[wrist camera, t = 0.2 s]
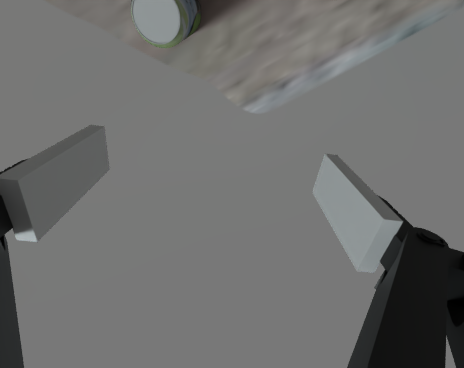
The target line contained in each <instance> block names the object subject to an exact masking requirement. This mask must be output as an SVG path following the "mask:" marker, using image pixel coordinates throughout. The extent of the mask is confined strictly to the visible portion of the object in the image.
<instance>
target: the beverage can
mask: <svg viewBox="0 0 464 368" xmlns="http://www.w3.org/2000/svg"><path fill="white" fill-rule="evenodd" d="M131 15H132V19H133V22H134V25H135V27H136V29H137V31H138V32H139V34H140V35H141V36H142V37H143V38H144V39H145V40H146V41H147V42H148V43H150V44H151V45H154V46H156V47H160V48H170V47H173V46H175V45H177V44H179V43H180V42H181V41H183V40H184V39H186V38H187V37H189V36H190V35H191V34H193V33H194V32H195V31H196V29H197V28H198V26H199V24H200V20H201V7H200V3H199V1H198V0H131Z"/></svg>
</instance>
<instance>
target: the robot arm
mask: <svg viewBox="0 0 464 368" xmlns="http://www.w3.org/2000/svg"><path fill="white" fill-rule="evenodd" d="M108 170H109V161H108V153H107V145H106V136H105V128H104V126H96V125H89V126H88V127H86V128H84V129H82V130H80V131H79V132H77V133H75V134H73V135H71V136H69V137H68V138H66V139H64V140H62V141H60V142H58V143H57V144H55V145H53V146H51V147H50V148H48V149H46V150H44V151H42V152H41V153H38V154H37V155H35V156H33V157H31V158H29V159H26V160H22V161H20V162H18V163H17V164H14V165H13V166H12V167H9V168H7V169H5V170H4V171H2V172H0V368H24V365H23V357H22V349H21V341H20V334H19V327H18V319H17V312H16V304H15V297H14V289H13V282H12V276H11V275H12V274H11V267H10V260H9V253H8V245H7V241H6V238H5V234H6V233H7V232H8V231H9V230H11V229H12V228H13V231H14V233H15V236H16V239H17V240H23V241H33V242H38V241H39V240H40V239H41V238H42V237H43V236H44V235H45V234H46V233H47V232H48V231H49V229H51V228H52V227H53V226H54V225H55V224H56V223H57V222H58V221H59V220H60V219H61V218H62V217H63V216H64V215H65V214H66V213H67V212H68V211H69V209H71V208H72V207H73V206H74V205H75V204H76V202H77V201H79V200H80V198H81V197H83V195H85V194H86V193H87V191H88V190H90V189H91V188H92V187H93V186H94V185H95V184H96V183H97V182H98V181H99V180H100V178H101V177H103V176H104V174H105V173H107V171H108ZM312 193H313V194H314V196H315V198H316V200H317V202H318V203H319V205H320V207H321V208H322V210H323V212H324V214H325V216H326V217H327V219H328V221H329V223H330V224H331V226H332V228H333V230H334V231H335V233H336V235H337V237H338V238H339V240H340V242H341V244H342V246H343V247H344V249H345V251H346V253H347V254H348V256H349V258H350V260H351V261H352V263H353V265H354V267H355V268H356V270H357V271H361V272H372V273H374V272H375V270H376V268H377V267H378V265H379V263H380V262H381V264H382V265H383V266H384V268H385V271H384V272H383V274H382V276H381V277H380V279H379V281H378V282H377V284H376V286H375V289H376V292H375V294H374V297H373V300H372V303H371V305H370V308H369V310H368V313H367V316H366V318H365V321H364V324H363V327H362V329H361V332H360V334H359V337H358V340H357V343H356V345H355V348H354V351H353V353H352V356H351V359H350V361H349V364H348V367H347V368H445V356H446V335H447V339H448V342H449V345H450V348H451V352H452V355H453V358H454V362H455V365H456V368H464V252H461V251H458V250H454V249H451V248H449V247H448V244H447V243H446V242H445V240H444V239H442V238H441V237H439V236H438V235H437V234H435V233H432V232H430V231H428V230H425V229H422V228H417V227H413V226H412V225H411V224H410V223H409V222H408V221H407V220H406V219H405V218H404V217H403V216H402V215H400V214H399V213H398V212H397V211H396V210H395V209H394V208H393V207H392V206H391V205H390V204H389V203H388V202H387V201H386V200H384V199H383V198H381V197H380V196H378V195H376V194H375V193H374V192H373V191H372V190H371V189H370V188H369V187H368V186H367V185H366V184H365V183H364V182H363V181H362V180H361V179H360V178H359V177H358V176H357V175H356V174H355V173H354V172H353V171H352V170H351V169H350V168H349V167H348V166H347V165H346V164H345V163H344V162H343V161H342V160H341V159H340V158H339V157H338V156H337V155H331V154H325V155H324V158H323V161H322V164H321V167H320V171H319V174H318V176H317V180H316V183H315V186H314V189H313V192H312Z"/></svg>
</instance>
